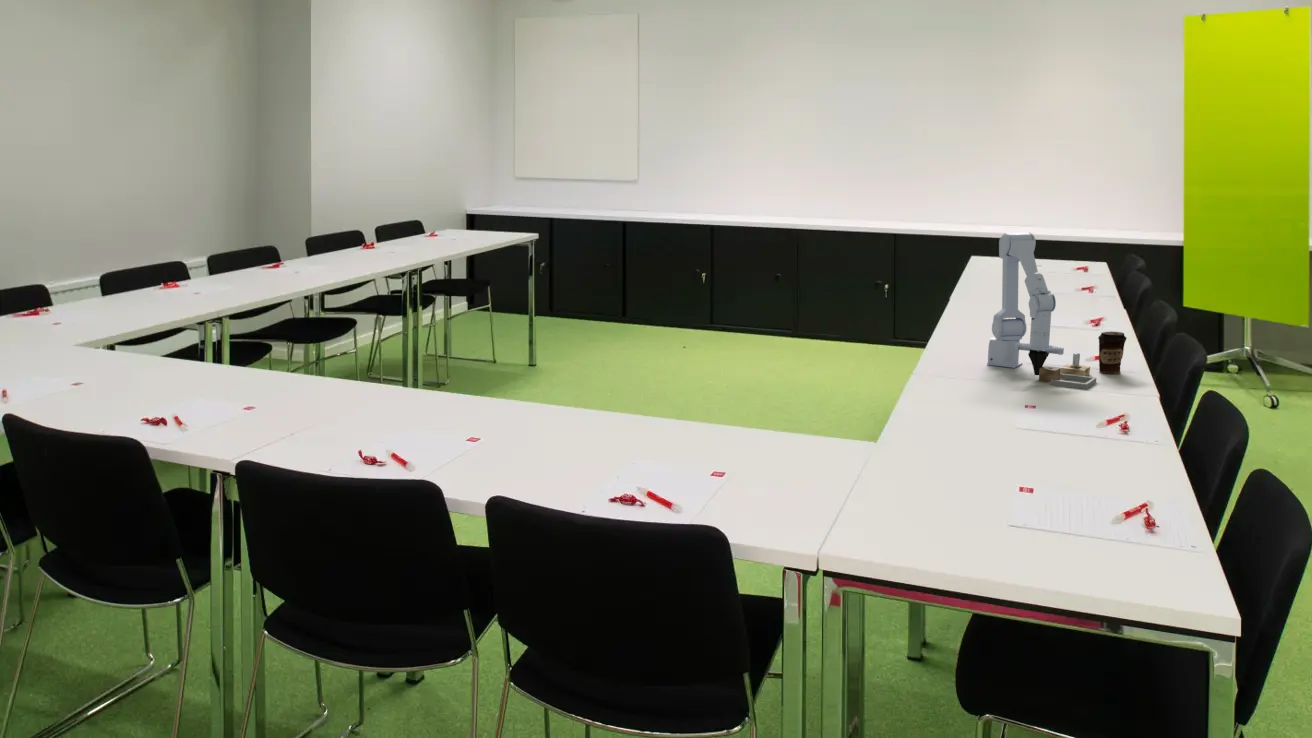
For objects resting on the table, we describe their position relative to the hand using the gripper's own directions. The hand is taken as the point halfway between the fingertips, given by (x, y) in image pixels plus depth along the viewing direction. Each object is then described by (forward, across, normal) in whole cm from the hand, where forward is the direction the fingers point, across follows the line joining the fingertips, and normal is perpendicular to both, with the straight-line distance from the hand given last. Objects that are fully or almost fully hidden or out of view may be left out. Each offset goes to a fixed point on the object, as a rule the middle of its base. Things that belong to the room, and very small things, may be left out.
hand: (1037, 374), depth 343 cm
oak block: (+1, +8, +12) cm, 15 cm away
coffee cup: (+2, +16, +22) cm, 27 cm away
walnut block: (+1, +4, 0) cm, 4 cm away
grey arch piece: (+1, +10, 0) cm, 10 cm away
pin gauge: (+1, +8, +12) cm, 15 cm away
